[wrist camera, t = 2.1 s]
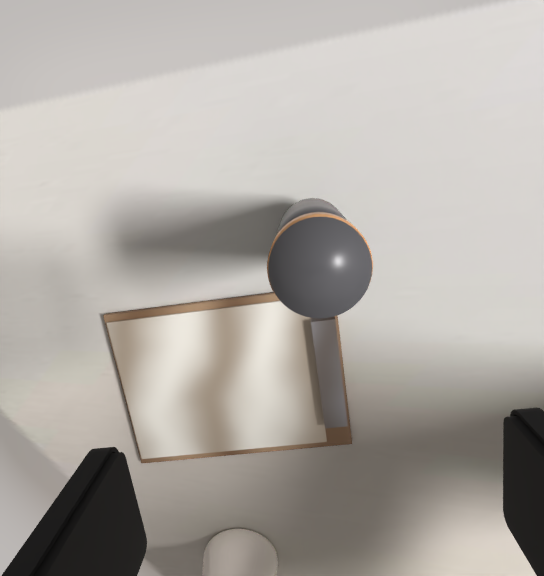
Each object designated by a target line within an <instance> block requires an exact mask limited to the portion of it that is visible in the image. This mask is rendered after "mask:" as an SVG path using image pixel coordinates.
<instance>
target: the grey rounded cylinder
mask: <svg viewBox="0 0 544 576" xmlns="http://www.w3.org/2000/svg"><path fill="white" fill-rule="evenodd" d="M372 270H373V261H372V255H371V251H370V248H369V246H368V244H367V242H366V240H365V239H364V237H363V236H362V234H361V233H360V232H359V231H358V230H357V229H356V228H355V227H354V226H353V225H352V224H351V223H350V222H348V221H347V220H346V218H345V217H344V216H343V215H342V214H341V213H340V212H339V211H338V210H337V208H336V207H334V206H333V205H332V204H330V203H329V202H327V201H324V200H321V199H315V198H310V199H304V200H301V201H299V202H297V203H295V204H293V205H292V206H291V207H290V208H289V209H288V210H287V211H286V212H285V214H284V215H283V217H282V219H281V222H280V225H279V229H278V232H277V235H276V237H275V239H274V241H273V243H272V246H271V249H270V252H269V256H268V261H267V273H268V279H269V282H270V285H271V288H272V290H273V292H274V293H275V295H276V296H277V298H278V299H279V300H280V301H281V302H282V303H283V304H284V305H285V306H286V307H287V308H289V309H290V310H292V311H293V312H295V313H297V314H299V315H302V316H305V317H310V318H329V317H333V316H337V315H339V314H342V313H344V312H346V311H347V310H349V309H350V308H352V307H353V306H354V305H355V304H356V303H357V302H358V301H359V300H360V299H361V298H362V297H363V295H364V294H365V292H366V290H367V288H368V286H369V283H370V281H371V277H372Z"/></svg>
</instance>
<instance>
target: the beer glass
mask: <svg viewBox="0 0 544 576" xmlns="http://www.w3.org/2000/svg"><path fill="white" fill-rule="evenodd" d="M277 568H278V557H277V553H276V550H275V548H274V547H273V545H272V544H271V543H270V541H269V540H268V539H266V538H265V537H264V536H262V535H261V534H259V533H257V532H254V531H251V530H247V529H229V530H225V531H222V532H220V533H218V534H217V535H215V536H214V537H213V538H212V539H211V540H210V541H209V542H208V544H207V546H206V548H205V551H204V555H203V573H202V576H276V573H277Z"/></svg>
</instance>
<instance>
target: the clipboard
mask: <svg viewBox="0 0 544 576" xmlns="http://www.w3.org/2000/svg"><path fill="white" fill-rule="evenodd" d="M103 317H104V321H105V325H106V328H107V332H108V336H109V340H110V344H111V348H112V351H113V355H114V359H115V363H116V367H117V371H118V374H119V378H120V382H121V386H122V390H123V394H124V398H125V401H126V405H127V409H128V413H129V417H130V421H131V424H132V428H133V432H134V436H135V440H136V444H137V447H138V451H139V455H140V459H141V463H150V462H161V461H172V460H183V459H194V458H204V457H215V456H226V455H237V454H248V453H258V452H269V451H280V450H291V449H302V448H313V447H323V446H334V445H345V444H352V438H351V429H350V421H349V412H348V403H347V395H346V386H345V377H344V369H343V360H342V351H341V343H340V334H339V326H338V317H337V316H333V317H329V318H310V317H305V316H302V315H299V314H297V313H295V312H293V311H292V310H290V309H289V308H287V307H286V306H285V305H284V304H283V303H282V302H281V301H280V300H279V299H278V298H277V296H276V295H275V293H274V292H273V293H265V294H257V295H250V296H242V297H234V298H226V299H218V300H210V301H202V302H194V303H187V304H179V305H171V306H163V307H155V308H147V309H139V310H131V311H123V312H116V313H108V314H105V315H103Z"/></svg>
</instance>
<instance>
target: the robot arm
mask: <svg viewBox="0 0 544 576" xmlns="http://www.w3.org/2000/svg"><path fill="white" fill-rule="evenodd" d="M503 512H504V517H505V521H506V523H507V526H508V528H509V529H510V531H511V533H512V534H513V536H514V538H515V540H516V541H517V543H518V545H519V546H520V548H521V550H522V551H523V553H524V555H525V556H526V558H527V560H528V561H529V563H530V565H531V566H532V568H533V570H534V572H535V573H536V575H537V576H544V411H543V410H542V409H540V408H528V409H517V410H513V411H512V412H511V414H510V417H505V419H504V448H503ZM146 547H147V539H146V534H145V530H144V526H143V522H142V518H141V515H140V511H139V507H138V503H137V499H136V495H135V492H134V488H133V484H132V480H131V476H130V472H129V468H128V465H127V461H126V457H125V455H124V453H122V452H118V450H117V448H115V447H109V448H98V449H92V450H91V451H90V452H89V453H88V454H87V456H86V457H85V458H84V460H83V461H82V463H81V464H80V465H79V467H78V468H77V470H76V471H75V473H74V474H73V475H72V477H71V478H70V480H69V481H68V482H67V484H66V485H65V487H64V488H63V490H62V491H61V492H60V494H59V496H58V497H57V498H56V499H55V501H54V502H53V504H52V505H51V507H50V508H49V510H48V511H47V512H46V514H45V515H44V517H43V518H42V519H41V521H40V522H39V524H38V525H37V526H36V528H35V529H34V531H33V532H32V533H31V535H30V536H29V538H28V539H27V541H26V542H25V544H24V545H23V546H22V548H21V549H20V550H19V552H18V553H17V555H16V556H15V558H14V559H13V560H12V562H11V563H10V565H9V566H8V567H7V569H6V570H5V572H4V573H3V575H2V576H137V574H138V572H139V569H140V566H141V564H142V561H143V558H144V556H145V552H146Z"/></svg>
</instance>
